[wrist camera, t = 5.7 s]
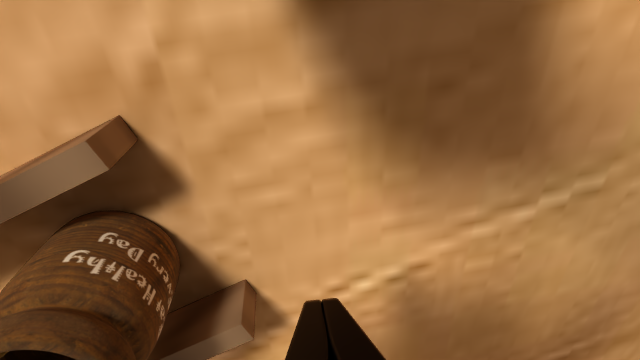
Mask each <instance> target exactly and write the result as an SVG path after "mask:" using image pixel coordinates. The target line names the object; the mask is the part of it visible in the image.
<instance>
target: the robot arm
mask: <svg viewBox="0 0 640 360" xmlns="http://www.w3.org/2000/svg"><path fill="white" fill-rule="evenodd" d="M285 360H386V359H385V358H384V357H383V355H382V354H381V353H380V351H379V350H378V349H377V348H376V346H375V345H374V344H373V343H372V341H371V340H370V339H369V338H368V336H367V335H366V334H365V332H364V331H363V330H362V329H361V327H360V326H359V325H358V324H357V322H356V321H355V320H354V319H353V317H352V316H351V315H350V314H349V312H348V311H347V310H346V308H345V307H344V306H343V305H342V303H341V302H340V301H339V300H338V299H337V298H329V299H323V300H322V301H320V300H311V301H306V302H305V303H304V305H303V308H302V311H301V314H300V317H299V320H298V323H297V326H296V329H295V332H294V335H293V338H292V340H291V343H290V346H289V349H288V352H287V355H286V358H285Z"/></svg>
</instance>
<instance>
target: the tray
mask: <svg viewBox="0 0 640 360" xmlns="http://www.w3.org/2000/svg"><path fill="white" fill-rule="evenodd" d="M137 140H138V139H137V138H136V136H135V135H134V134H133V133H132V131H131V130H130V129H129V127H128V126H127V125H126V123H125V122H124V121H123V120H122V118H121V117H120V116H117V117H115V118H113V119H111V120H109V121H107V122H105V123H103V124H101V125H99V126H97V127H95V128H93V129H91V130H89V131H87V132H86V133H84V134H82V135H80V136H78V137H76V138H74V139H72V140H70V141H68V142H66V143H64V144H62V145H60V146H58V147H56V148H54V149H52V150H50V151H48V152H46V153H44V154H42V155H41V156H39V157H37V158H35V159H33V160H31V161H29V162H27V163H25V164H23V165H21V166H19V167H17V168H15V169H13V170H11V171H9V172H7V173H5V174H3V175H1V176H0V224H1V223H3V222H5V221H7V220H9V219H11V218H13V217H15V216H17V215H19V214H21V213H23V212H25V211H27V210H29V209H31V208H33V207H35V206H37V205H39V204H41V203H43V202H45V201H47V200H49V199H51V198H53V197H55V196H57V195H59V194H62V193H64V192H66V191H68V190H70V189H72V188H74V187H76V186H78V185H80V184H82V183H84V182H86V181H88V180H90V179H92V178H94V177H96V176H98V175H100V174H102V173H104V172H106V171H108V170H110V169H111V168H112V167H113V165H114V164H115V163H116V162H117V161H118V160H119V159H120V158H121V157H122V156H123V155H124V154H125V153H126V152H127V151H128V150H129V149H130V148H131V147H132V146H133V145H134V144H135V143H136V141H137ZM255 309H256V293H255V291H254V290H253V289H252V288H251V286H250V285H249V284H248V282H247V281H246V280H243V281H241V282H239V283H236V284H234V285H232V286H230V287H227V288H225V289H223V290H221V291H218V292H216V293H214V294H212V295H210V296H207V297H205V298H203V299H201V300H198V301H196V302H194V303H192V304H189V305H187V306H185V307H183V308H180V309H178V310H176V311H174V312H171V313H169V314H167V316H166V319H165V322H164V325H163V328H162V330H161V333H160V336H159V338H158V340H157V343H156V345H155V347H154V349H153V351H152V352H151V354H150V356H149V357H148V359H147V360H207V359H209V358H211V357H214V356H216V355H218V354H221V353H223V352H226V351H228V350H230V349H233V348H235V347H237V346H240V345H242V344H244V343H247V342H249V341H251V340H254V327H255Z"/></svg>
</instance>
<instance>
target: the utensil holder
mask: <svg viewBox="0 0 640 360" xmlns="http://www.w3.org/2000/svg"><path fill="white" fill-rule="evenodd" d="M179 270H180V262H179V256H178V252H177V249H176V247H175V245H174V243H173V242H172V240H171V239H170V238H169V236H168V235H167V234H166V233H165V232H164V231H163V230H162V229H160V228H159V227H158V226H157V225H155V224H154V223H152V222H150V221H148V220H146V219H144V218H142V217H139V216H137V215H133V214H130V213H125V212H119V211H100V212H93V213H89V214H86V215H83V216H80V217H78V218H76V219H74V220H72V221H70V222H69V223H67V224H66V225H64V226H63V227H62V228H61V229H59V230H58V231H57V232H56V233H55V234H54V235H53V236H52V237H51V238H50V239H49V240H48V241H47V242H46V243H45V244H44V245H43V246H42V247H41V248H40V249H39V250H38V251H37V252H36V253H35V254H34V255H33V256H32V257H31V258H30V259H29V261H28V262H27V263H26V264H25V265H24V266H23V267H22V268H21V269H20V270H19V271H18V272H17V274H16V275H15V276H14V277H13V278H12V279H11V280H10V282H9V283H8V284H7V285H6V286H5V287H4V289H3V290H2V291H1V293H0V360H147V359H148V357H149V356H150V354H151V352H152V351H153V349H154V347H155V345H156V343H157V340H158V338H159V336H160V333H161V330H162V328H163V325H164V322H165V319H166V316H167V313H168V310H169V307H170V304H171V301H172V298H173V295H174V292H175V289H176V285H177V281H178V277H179Z"/></svg>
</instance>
